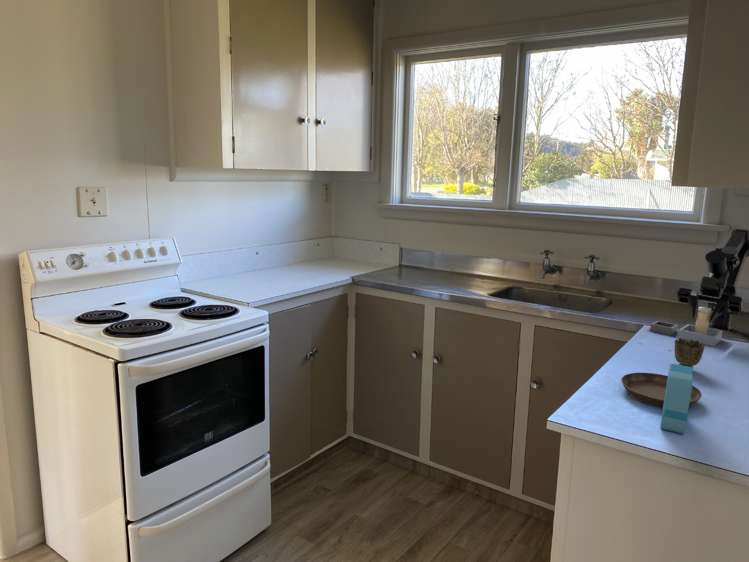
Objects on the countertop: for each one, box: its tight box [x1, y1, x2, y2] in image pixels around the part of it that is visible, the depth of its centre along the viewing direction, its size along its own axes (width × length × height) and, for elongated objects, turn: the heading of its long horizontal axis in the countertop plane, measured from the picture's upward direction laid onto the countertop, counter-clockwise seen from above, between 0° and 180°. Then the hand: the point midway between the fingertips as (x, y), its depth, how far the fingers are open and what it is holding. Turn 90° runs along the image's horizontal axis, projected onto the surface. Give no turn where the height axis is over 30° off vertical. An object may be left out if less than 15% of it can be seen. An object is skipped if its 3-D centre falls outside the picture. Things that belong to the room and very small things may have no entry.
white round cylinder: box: [694, 305, 713, 335], centre depth 185 cm, size 4×4×11 cm
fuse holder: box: [645, 320, 679, 338], centre depth 193 cm, size 9×9×4 cm
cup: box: [674, 338, 706, 369], centre depth 159 cm, size 8×7×8 cm
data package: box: [660, 363, 694, 435], centre depth 123 cm, size 12×4×12 cm, turn 151°
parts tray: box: [677, 323, 724, 347], centre depth 186 cm, size 10×10×4 cm
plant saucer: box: [620, 372, 703, 408], centre depth 139 cm, size 18×18×3 cm
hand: (701, 320), depth 184 cm, fingers open, 5 cm apart
